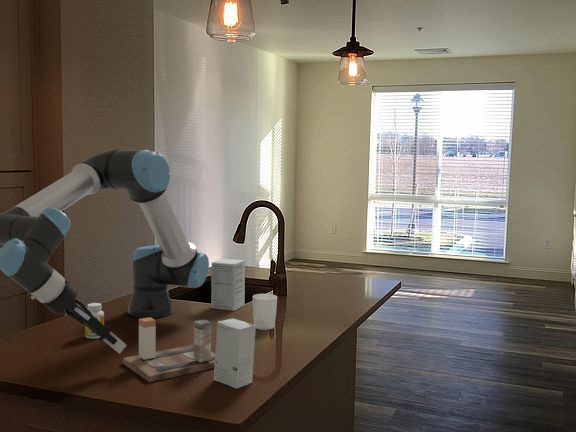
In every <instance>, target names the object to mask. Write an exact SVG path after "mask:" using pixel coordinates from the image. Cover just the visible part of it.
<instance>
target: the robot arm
mask: <svg viewBox="0 0 576 432" xmlns="http://www.w3.org/2000/svg"><path fill="white" fill-rule="evenodd" d="M170 172H171V168H170V166H169V163H168V161H167V159H166V158H165V157H164V155H163V154H161V153H160V152H157V151H153V150H148V149H139V150H135V149H134V150H131V149H109V150H105V151H102V152H99V153H96V154H94V155H92V156H90V157H87V158H86V159H83V160H82V161H80V162H79V163H77V164H76V165H74V166H73V168H72V170H71V172H70V173H68V174H66V175H65V176H63V177H61V178H59V179H58V180H56V181H54V182H52V183H51V184H50V185H48V186H46V187H44V188H43V189H41V190H39V191H38V192H36V193H35V194H33V195H31V196H30V197H28V198H26V199H25V200H23V201H22V202H20V203H18V204H16V205H15V206H13V207H12V208H9V209H8V210H6V211H4V212H2V213H0V246H1V247H0V271H1V272H2V273H3V274H4V275H5V276H7V277H8V278H10V279H11V280H12V281H14V282H15V283H16V284H18V285H19V286H20V287H22V289H24V290H25V291H26V292H27V293H29V294H30V295H31V296H30V299H31V300H35V299H36V300H37V301H38V302H40V303H42V304H43V305H44V306H45V308H47V309H48V310H49V311H50V312H52V313H53V314H56V315H58V314H60V313H63V312H64V313H65V314H66V315H67V316H69V317H71V318H72V319H74V320H75V321H76V322H79V323H80V324H81V325H84V326H86V327H88V328H89V329H90V330H91V331H92V332H93V333H95V334H96V335H97V336H100V338H97V339H98V341H100V342H102V341H103V342H105V344H107V345H108V346H109V347H110V348H111V349H113V350H114V351H115V352H117V354H119V355H120V354H121V353H122V352H123V351H124V349H125V348H126V347H127V346H128V345H127V344H126V342H124V341H123V340H121V338H119V337H118V336H117V335H116V334H115V333H113V332H112V331H111V329H110V328H108V325H107V324H104V325H103V324H102V323H101V322H100V321H99V320H97V319H96V318H95V317H94V316H93V315H92V313H91V312H90V311H89V310H88V309H87V308H86V306H85V304H84V303H83V302H81V301H79V300H78V299H77V296H78V290H77V287H75V286H74V285H73V284H71V283H70V282H69V281H68V280H66V278H65V277H64V276H63V275H62V274H60V273H59V272H58V271H57V270H56V269H55V268H53V267H52V266H50V265H49V263H48V261H49V259H50V258H51V256H52V254H53V253H54V252H55V251H56V249H57V248H58V247H59V246H60V244H61V243H62V242H63V240H65V238H66V235H67V234H68V232H69V231H70V228H71V227H72V222H71V219H69V216H68V215H67V214H66V213H64V212H63V211H64V210H66V209H68V208H69V207H71V206H72V205H73V204H75V203H77V202H78V201H79V200H81V199H83V198H84V197H85V196H87V195H89V196H90V195H91V196H92V195H95V194H97V193H98V192H100V191H105V190H120V191H121V190H122V191H126V192H127V194H128V196H129V198H130V200H131V202H133V203H135V204H138V205H139V206H140V209H141V210H142V213H143V215H144V216H145V218H146V219H145V220H146V221H147V223H148V225H149V227H150V229H151V231H152V234H153V235H154V237H155V239H156V241H157V243H158V244H155V245H153V244H152V245H146V246H141V247H137V248H135V250H134V251H133V257H132V282H133V283H132V285H133V287H132V288H133V289H132V292H131V293H132V294H131V297H130V299H129V304H128V306H127V315H129V316H131V317H134V318H140V319H142V318H149V317H151V318H153V319H154V318H155V319H156V318H162V317H167V316H169V315H171V314H173V312H174V306H173V303H172V299H171V297H170V293H169V292H170V291H169V286H174V287H180V288H187V289H189V288H192V289H197V288H200V287H201V286H202V285H203V284H204V283H205V282H206V279H207V277H208V274H209V267H210V261H209V256H208V255H207V254H206V253H203V252H198V250H197V248H196V245H195V244H194V243H193V242H191V241H188V240H187V237H186V235H185V233H184V230H183V228H182V226H181V224H180V222H179V221H180V220H179V219H178V217H177V215H176V212H175V211H174V208H173V206H172V203H171V201H170V199H169V197H168V194H167V189H168V187H169V186H168V185H169V184H170V178H171V174H170Z"/></svg>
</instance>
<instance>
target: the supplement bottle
mask: <svg viewBox="0 0 576 432" xmlns="http://www.w3.org/2000/svg"><path fill="white" fill-rule="evenodd" d="M87 309H88V310H89V311H90V312H91V313H92V315H93V316H94V317H95V318H96V319H97V320H99V321H100V322H101V323H102V324H103V325H105V313H104V311H103V310H102V303H99V302H91V303H89V304H87ZM84 326H85V325H84ZM84 337H85V338H87V339H94V340H95V339H99V338H100V336H97V335H96V334H95V333H93V332H92V331H91V330H90V329H89V328H88V327H86V326H85V327H84Z"/></svg>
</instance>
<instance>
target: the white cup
mask: <svg viewBox="0 0 576 432" xmlns="http://www.w3.org/2000/svg"><path fill="white" fill-rule="evenodd" d="M277 303H278V296H277V295H275V294H271V293H257V294H253V295H252V313H253V315H252V316H253V325H255V326H256V329H257V330H261V331H262V330H263V331H264V330H265V331H267V330H273V329H274V328H275V327H276V317H277V316H276V315H277V305H278V304H277Z"/></svg>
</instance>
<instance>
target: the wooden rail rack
mask: <svg viewBox="0 0 576 432" xmlns="http://www.w3.org/2000/svg"><path fill="white" fill-rule="evenodd" d="M122 364H123V365H124V366H126V367H127V368H128V369H130V370H131V371H133V372H134V373H135V374H137V375H138V376H140V377H141V378H142V379H144V380H145V381H147V382H148V383H151V382H152V383H153V382H157V381H161V380H165V379H171V378H176V377H179V376H183V375H188V374H195V373H198V372H202V371H206V370H212V369H214V366H215V352H214V351H212V321H209V320H207V319H201V320H200V319H199V320H195V321H193V344H189V345H184V346H178V347H173V348H168V349H163V350H157V351H156V352H155V358H150V359H145V360H144V359H142V358H141V357H139V354H137V355H132V356H125V357H123V358H122Z"/></svg>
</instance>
